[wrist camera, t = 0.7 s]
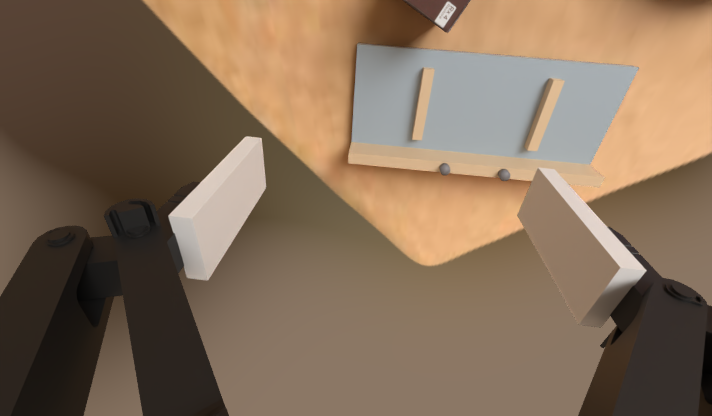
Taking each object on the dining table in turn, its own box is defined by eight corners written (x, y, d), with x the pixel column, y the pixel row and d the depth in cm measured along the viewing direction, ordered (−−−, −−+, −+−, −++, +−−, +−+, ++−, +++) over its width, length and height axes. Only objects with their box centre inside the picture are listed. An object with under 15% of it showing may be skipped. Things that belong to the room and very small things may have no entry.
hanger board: (358, 42, 32) (353, 49, 28) (632, 65, 31) (668, 76, 27) (351, 148, 38) (347, 166, 34) (580, 170, 37) (603, 191, 33)
